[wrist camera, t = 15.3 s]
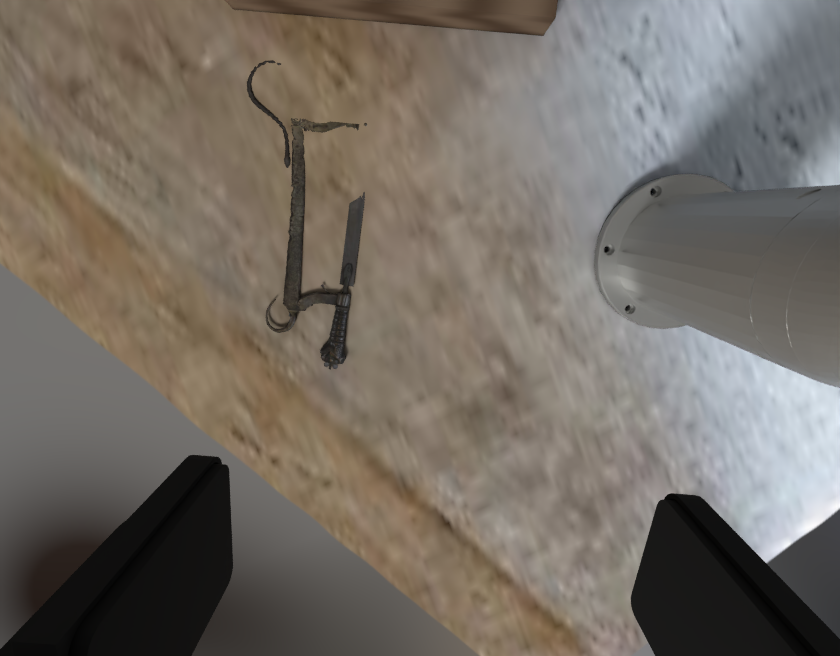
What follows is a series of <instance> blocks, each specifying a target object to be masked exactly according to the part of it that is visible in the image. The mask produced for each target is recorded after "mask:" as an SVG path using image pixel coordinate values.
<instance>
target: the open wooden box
mask: <svg viewBox="0 0 840 656" xmlns="http://www.w3.org/2000/svg"><path fill="white" fill-rule="evenodd" d="M225 1H226V2H227V3H228V4H229V5H230V6H231V7H232V8H233V9H236V10H248V11H259V12H271V13H283V14H294V15H306V16H318V17H329V18H341V19H353V20H364V21H376V22H388V23H399V24H411V25H423V26H434V27H446V28H458V29H469V30H481V31H493V32H504V33H516V34H527V35H539V36H543V35H544V34H545V32H546V31H547V29H548V28H549V26H550V25H551V23H552V22H553V21H554V19H555V17H556V10H557V3H558V0H225Z"/></svg>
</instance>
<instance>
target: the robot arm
mask: <svg viewBox="0 0 840 656" xmlns="http://www.w3.org/2000/svg"><path fill="white" fill-rule="evenodd" d="M651 189H652V190H653V193H652V195H651V194H650V191H651ZM606 246H607V251H606V252H604V248H605V247H606ZM594 270H595V276H596V281H597V284H598V286H599V289H600V292H601V294H602V295H603V297H604V298H605V300H606V302H607V303H608V304H609V305H610V306H611V307H612V308H613V309H614V310H615V311H616V312H617V313H618V314H620V315H622V316H623V317H625V318H626V319H628V320H630V321H632V322H634V323H636V324H638V325H642V326H646V327H649V328H659V329H668V328H678V327H682V326H685V325H688V326H690V327H692V328H695V329H697V330H699V331H702V332H704V333H706V334H709V335H711V336H713V337H715V338H718V339H720V340H722V341H725V342H727V343H729V344H732V345H734V346H736V347H738V348H741V349H743V350H745V351H748V352H750V353H752V354H755V355H757V356H759V357H761V358H764V359H766V360H768V361H771V362H773V363H775V364H778V365H780V366H782V367H785V368H787V369H789V370H792V371H794V372H797V373H799V374H801V375H804V376H806V377H808V378H811V379H813V380H816V381H818V382H821V383H824V384H827V385H831V386H834V387H838V388H840V185H831V186H815V187H799V188H783V189H767V190H751V191H734V190H732V189H731V188H730V187H728V186H727V185H726V184H724V183H723V182H721V181H718V180H716V179H714V178H711V177H709V176H703V175H698V174H677V175H671V176H665V177H662V178H659V179H656V180H652V181H650V182H648V183H646V184H644V185H642V186H640V187H638V188H637V189H635V190H634V191H633V192H631V193H630V194H629V195H627V196H626V197H625V198H624V199H623V200H622V201H621V202H620V203H619V204H618V205H617V206H616V207H615V208H614V209H613V211H612V212H611V214H610V215H609V217H608V218H607V220H606V221H605V223H604V225H603V227H602V230H601V232H600V234H599V236H598V240H597V244H596V248H595V255H594ZM627 305H628V308H627V309H625V308H626V306H627ZM232 569H233V555H232V531H231V506H230V481H229V468H228V466H227V465H223V464H222V462H221V460H220V458H219V457H212V456H200V455H190V456H188V457H187V458H186V459H185V460H184V461H183V462H182V463H181V464H180V465H179V466H178V467H177V468H176V469H175V470H174V471H173V473H172V474H171V475H170V476H169V477H168V478H167V479H166V480H165V481H164V482H163V483H162V484H161V485H160V486H159V487H158V488H157V489H156V490H155V491H154V492H153V493H152V494H151V495H150V496H149V498H148V499H147V500H146V501H145V502H144V503H143V504H142V505H141V506H140V507H139V508H138V509H137V510H136V511H135V512H134V513H133V514H132V515H131V516H130V517H129V518H128V519H127V520H126V521H125V522H124V523H122V524H121V525H120V526H119V527H118V528H117V529H116V530H115V531H114V532H113V533H112V534H111V535H110V536H109V537H108V538H107V539H106V540H105V541H104V542H103V543H102V544H101V545H100V546H99V547H98V548H97V550H96V551H95V552H94V553H93V554H92V555H91V556H90V557H89V558H88V559H87V560H86V561H85V562H84V563H83V564H82V565H81V566H80V567H79V568H78V569H77V570H76V571H75V572H74V573H73V574H72V575H71V577H70V578H69V579H68V580H67V581H66V582H65V583H64V584H63V585H62V586H61V587H60V588H59V589H58V590H57V591H56V592H55V593H54V594H53V595H52V596H51V597H50V598H49V599H48V600H47V601H46V602H45V604H43V606H42V607H41V608H40V609H39V610H38V611H37V612H36V613H35V614H34V615H33V616H32V617H31V618H30V619H29V620H28V621H27V622H26V623H25V624H24V625H23V626H22V627H21V628H20V629H19V631H17V633H16V634H15V635H14V636H13V637H12V638H11V639H10V640H9V641H8V642H7V643H6V644H5V645H4V646H3V647H2V648H1V649H0V656H191V655H192V653H193V651H194V650H195V648H196V646H197V643H198V642H199V640H200V638H201V636H202V634H203V632H204V630H205V628H206V626H207V624H208V622H209V621H210V619H211V617H212V615H213V613H214V611H215V609H216V607H217V605H218V603H219V601H220V600H221V598H222V596H223V594H224V592H225V590H226V588H227V586H228V584H229V581H230V578H231V574H232ZM631 606H632V610H633V613H634V616H635V618H636V620H637V622H638V624H639V625H640V627H641V629H642V631H643V633H644V635H645V637H646V639H647V641H648V643H649V645H650V646H651V648H652V650H653V652H654V654H655V656H840V639H839V638H838V637H837V636H836V635H835V634H834V633H833V632H832V631H831V630H830V629H829V627H828V626H826V624H825V623H824V622H823V621H822V620H821V619H820V618H819V617H818V616H817V615H816V614H815V613H814V612H813V611H812V610H811V609H810V608H809V607H808V606H807V605H806V604H805V603H804V602H803V601H802V600H801V599H800V598H799V597H798V596H797V595H796V594H795V593H794V592H793V591H792V590H791V589H790V587H788V585H786V583H785V582H783V580H782V579H781V578H780V577H779V576H778V575H777V574H776V573H775V572H774V571H773V570H772V569H771V568H770V567H769V566H768V565H767V564H766V563H765V562H764V561H763V560H762V559H761V558H760V557H759V556H758V555H757V554H756V553H755V552H754V551H753V550H752V549H751V547H750V546H749V545H748V544H747V543H746V542H745V541H744V540H743V539H742V538H741V537H740V536H739V535H738V534H737V533H736V532H735V531H734V530H733V529H732V528H731V527H730V526H729V525H728V524H727V523H726V522H725V521H724V520H723V519H722V518H721V517H720V516H719V515H718V514H717V513H716V512H715V511H714V510H713V509H712V508H711V506H710V505H709V504H708V503H707V502H706V501H705V500H704V499H702V498H701V497H700V496H696V495H685V494H673V493H671V494H668V495H667V496H666V497H665V499H664V500H660V501H659V502H658V504H657V507H656V511H655V514H654V517H653V521H652V524H651V528H650V531H649V535H648V538H647V542H646V545H645V549H644V552H643V556H642V559H641V563H640V566H639V570H638V573H637V577H636V580H635V584H634V587H633V591H632V595H631Z"/></svg>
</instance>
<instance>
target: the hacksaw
mask: <svg viewBox="0 0 840 656" xmlns="http://www.w3.org/2000/svg"><path fill="white" fill-rule="evenodd" d="M266 62H268V63H276V62H275V61H273V60H272V61H264V62H263V63H259V64H258V67H260V66H261V65H264V64H266ZM277 64H278V65H281V63H277ZM258 67H256V66H255V67H254V70H253V71H251V74H250V76H249V78H248V81H247V91H248V94H249V97H250V98H251V100H252V102H253V103H254V104H255V105H256V106H257V107H258V108H259V109H262V111H263V112H265V113H266V114H267V115H269V116H271V117H272V119H273V120H275V121H276V122H277V123H278V124H280V125H279V126H280V127H281V128H282V129H283V133H284V137H285V145H286V146H285V149H286V150H285V158H284V162H285V165H286V167H287V168H288V167H289V165H290V157H289V155H290V153H289V143H288V142H289V140H288V134H287V132H286V129H285V127H284V126H283V125H282V122H280V121H279V120H278V118H277V117H275V116H274V114H272V113H271V112H270V111H269V110H268V109H266V108H265V107H264V106H263V105H261V104H260V103H259V102H258V101H257V100H256V98H255V97H254V94H253V92H252V86H251V82H252V77H253V75H254V72H255V71H256V69H257V68H258ZM295 119H296V118H295ZM295 119H292V118H291V120H292V123H293V124H294V125H291V127H292V134H293V136H294V139H293V141H292V147H293V152H292V183H293V184H292V185H291V186H292V187H294V189H293V192H292V194H291V196H292V199H291V217H290V230H289V231H288V233H289V235H290V239H289V242H288V250H287V266H286V277H285V286H284V300H283V301H284V302H283V304H284V305H285V306H286V307H287V309H288V311H289V316H290V320H289V323H288V325H287V326H286V327H284V328H282V329H275V328H273V327H272V326H271V325H270V324H269V322H268V317H267V313H268V310H269V308H270V307H271V305H272V304H273V303H274V301H275V300H276V299H275V300H274V301H273V302H272V303H271V304H270V305H269V307H268V308H267V311H266V323H267V325H268V326H269V327H270V329H271V330H273V331H275V332H278V333H280V332H286V331H288V330H290V329H291V328H292V326H293V325H294V323H295V319H296V316H297V314H296V313H297V312H298V311H305V310H306V308H307V307H309V306H313V304H317V303H324V304H332V305H336V306H335V308H336V310H335V315H334V319H333V324H332V329H331V332H330V337H329V341H328V342H327V344H326V345H324V346H323V347H322V348H321V350H320V353H321V354H322V355H321V358H322V360H323V361H325V363H324V366H325V367H328V366H329V369H331V366H333V368H334V369H337V365H336V364H339V363H340V364H343V363H344V361H345V359H346V356H345V354H344V341H345V331H346V322H347V315H348V310H349V306H348V305H349V303H350V297H351V296H350V294H348V286H353V285H354V280H355V279H354V278H355V270H356V269H355V268H356V263H357V262H356V261H357V256H358V248H359V247H358V246H359V241H360V240H359V239H360V233H361V232H360V231H361V226H362V225H361V223H362V218H363V217H362V216H363V210H364V209H363V208H364V200H365V199H364V198H365V192H364V193H363V196H362V198H363V199H362V198H361V196H360V198H358V199H356V200H355V201H353V202H351V203H350V205H349V213H348V221H347V229H346V238H345V246H344V254H343V262H342V271H341V279H340V284H342V285H344V287H343V291H342V293H340V292H339V293H338V294H330V293H329V292H328V291H327V290H326V289H325V288H324V285H321V286H322V287H323V289H324V290H325V291H326V292H327V293H317V292H316V293H312V294H308V295H305V296H303V297H301V298H300V278H301V261H302V242H303V223H304V205H305V162H304V158H303V157H304V146H303V140H304V136H303V132H302V128H304V131H307V130H308V131H309V130H311V131H312V132H313V131H314V132H327V131H329V130H332V129H335V128H337V127H341V126H344V125H346V126H347V127H353V128H354V129H355V128H356V129H357V130H358V128H359V124H349V123H339V122H328V123H314V122H310V121H308V120H306V119H302V122H301V119H300V120H299V122H298V121H296V120H295ZM293 120H294V121H293ZM297 120H298V119H297ZM300 122H301V123H300ZM297 124H299V125H297ZM301 125H303V126H304V125H305V126H304V127H303V126H301ZM364 125H365V126H367V124H366V123H365V124H364ZM305 127H306V128H305Z"/></svg>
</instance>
